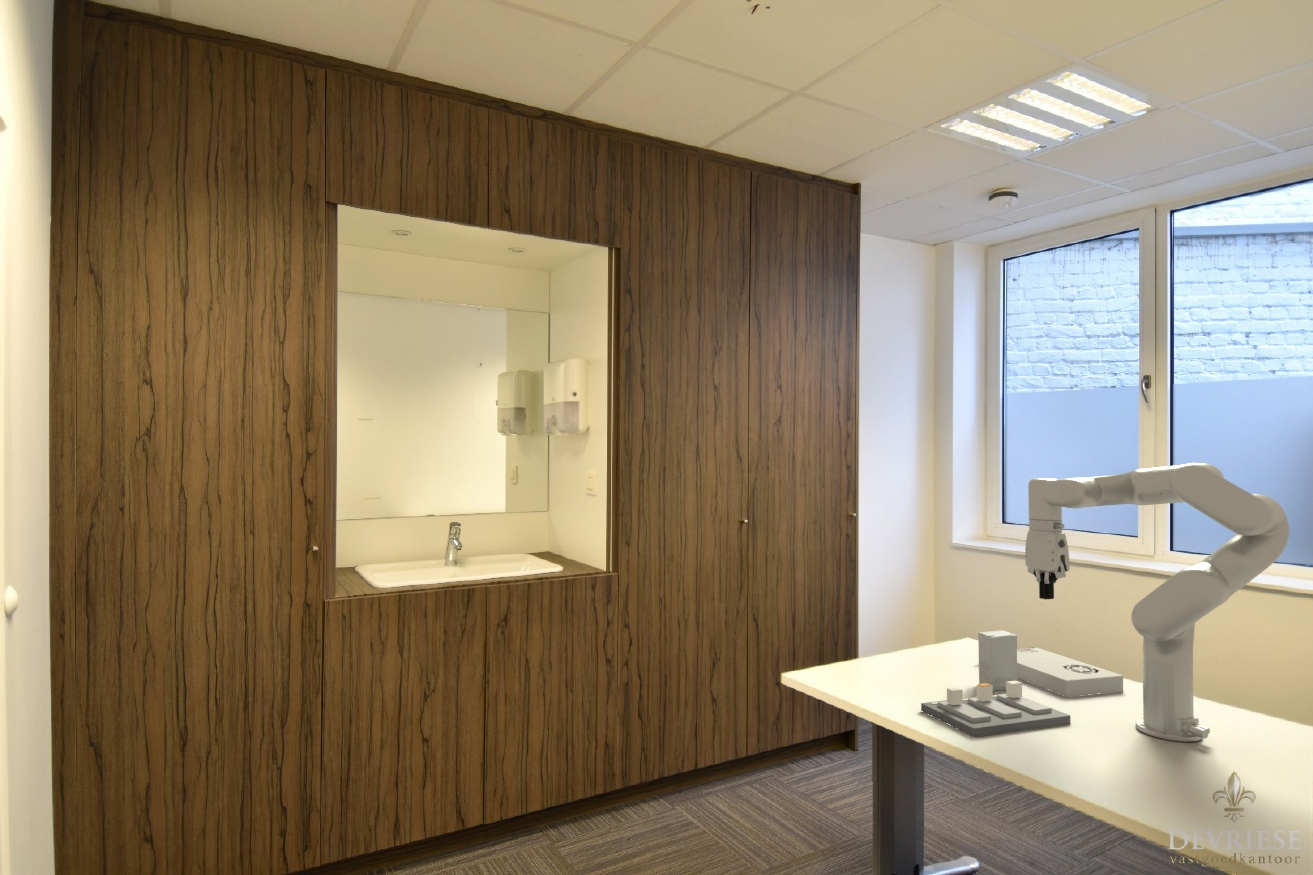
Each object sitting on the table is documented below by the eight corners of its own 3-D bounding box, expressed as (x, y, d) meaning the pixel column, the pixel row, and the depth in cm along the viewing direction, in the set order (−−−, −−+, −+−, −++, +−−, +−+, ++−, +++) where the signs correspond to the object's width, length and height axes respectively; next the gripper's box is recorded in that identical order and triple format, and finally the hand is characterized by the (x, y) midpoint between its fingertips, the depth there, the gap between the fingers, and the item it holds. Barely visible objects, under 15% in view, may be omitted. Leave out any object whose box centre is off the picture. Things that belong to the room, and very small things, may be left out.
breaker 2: (1022, 696, 185) (1021, 682, 186) (1012, 698, 184) (1012, 683, 185) (1015, 694, 187) (1015, 680, 187) (1006, 695, 186) (1006, 681, 186)
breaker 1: (962, 704, 180) (962, 689, 180) (952, 705, 179) (952, 690, 179) (956, 701, 182) (956, 686, 182) (946, 702, 181) (946, 688, 181)
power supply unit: (1031, 661, 233) (1031, 645, 233) (1124, 694, 201) (1123, 675, 201) (980, 665, 228) (980, 649, 228) (1067, 699, 196) (1066, 680, 196)
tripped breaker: (992, 700, 183) (992, 684, 183) (982, 701, 182) (982, 686, 182) (986, 697, 184) (986, 682, 185) (976, 699, 184) (976, 683, 184)
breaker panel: (1070, 723, 176) (1070, 711, 176) (973, 737, 167) (973, 723, 167) (1011, 700, 193) (1011, 688, 193) (921, 711, 184) (921, 699, 184)
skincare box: (1004, 683, 208) (1003, 629, 208) (1018, 689, 202) (1018, 634, 202) (977, 684, 206) (977, 630, 207) (991, 691, 200) (991, 635, 201)
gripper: (1081, 528, 186) (1083, 602, 185) (1032, 523, 200) (1034, 593, 199) (1058, 529, 183) (1060, 604, 183) (1011, 524, 197) (1012, 594, 197)
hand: (1046, 598), depth 191 cm, fingers closed
